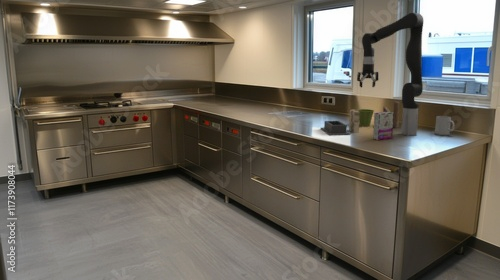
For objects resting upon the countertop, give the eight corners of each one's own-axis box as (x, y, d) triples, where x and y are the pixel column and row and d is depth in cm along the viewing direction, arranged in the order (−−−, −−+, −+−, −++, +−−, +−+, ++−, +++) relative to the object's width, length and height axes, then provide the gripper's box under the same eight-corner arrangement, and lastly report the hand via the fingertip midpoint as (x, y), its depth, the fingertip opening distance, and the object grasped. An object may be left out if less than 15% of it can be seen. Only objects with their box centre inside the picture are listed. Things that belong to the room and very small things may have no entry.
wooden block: (384, 125, 287) (386, 100, 283) (398, 127, 279) (400, 101, 275) (382, 126, 284) (383, 101, 280) (396, 128, 277) (398, 102, 273)
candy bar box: (386, 137, 248) (388, 111, 245) (392, 138, 244) (394, 112, 240) (372, 138, 244) (374, 112, 240) (378, 140, 240) (379, 113, 236)
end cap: (350, 134, 256) (350, 125, 255) (329, 135, 255) (329, 126, 254) (340, 128, 278) (340, 119, 277) (320, 128, 277) (320, 120, 275)
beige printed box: (358, 132, 263) (359, 111, 260) (354, 132, 263) (355, 111, 260) (353, 129, 273) (354, 109, 270) (349, 129, 272) (350, 109, 269)
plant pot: (373, 127, 280) (374, 111, 278) (356, 126, 284) (356, 111, 281) (373, 124, 291) (374, 109, 289) (356, 123, 295) (357, 108, 292)
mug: (431, 133, 258) (433, 116, 255) (440, 131, 262) (441, 115, 260) (449, 136, 248) (450, 119, 245) (457, 135, 252) (459, 118, 249)
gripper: (360, 63, 267) (358, 87, 270) (380, 63, 267) (379, 87, 271) (356, 63, 274) (355, 87, 277) (376, 63, 275) (375, 86, 278)
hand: (367, 87), depth 274 cm, fingers open, 8 cm apart
